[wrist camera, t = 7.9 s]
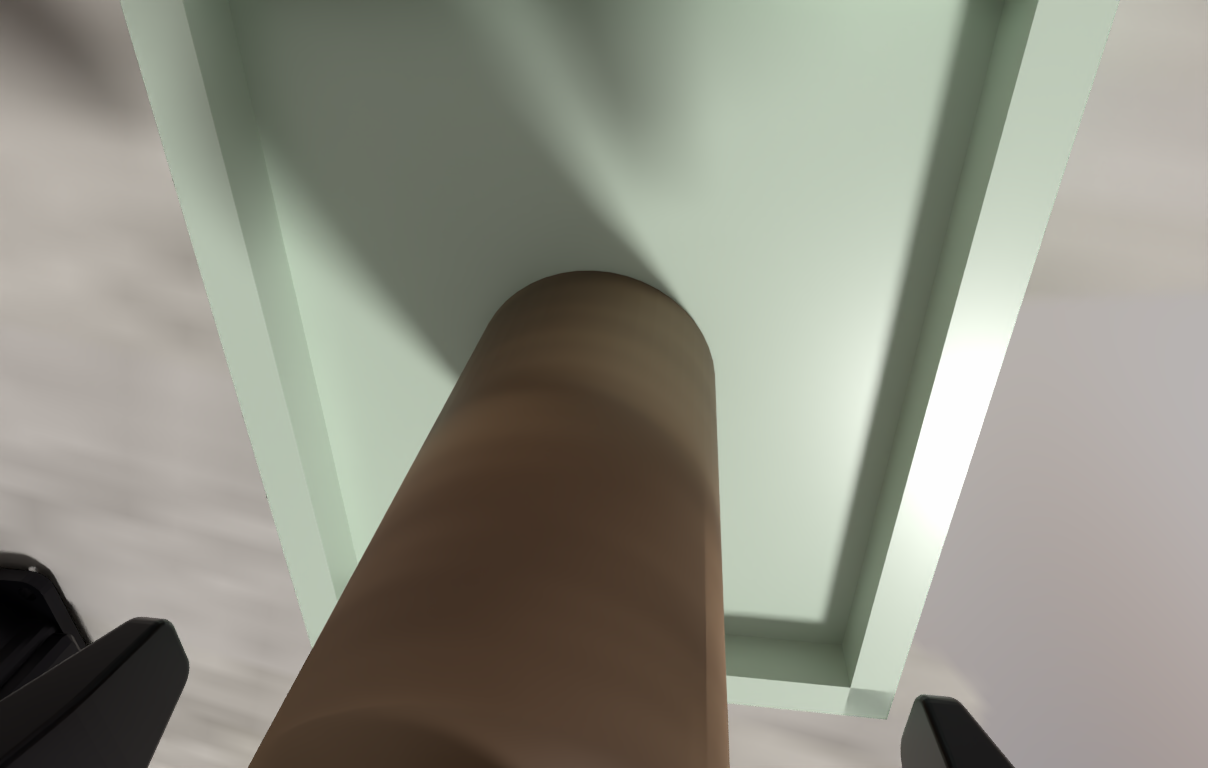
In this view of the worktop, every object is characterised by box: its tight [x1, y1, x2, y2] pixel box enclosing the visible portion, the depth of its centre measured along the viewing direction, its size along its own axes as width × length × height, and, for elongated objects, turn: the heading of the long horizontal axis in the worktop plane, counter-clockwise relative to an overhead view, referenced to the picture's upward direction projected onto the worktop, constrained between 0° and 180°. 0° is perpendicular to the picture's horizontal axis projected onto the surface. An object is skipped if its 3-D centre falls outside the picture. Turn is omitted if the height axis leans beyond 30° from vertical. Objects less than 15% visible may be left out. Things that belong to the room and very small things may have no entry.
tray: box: [120, 0, 1120, 720], centre depth 15 cm, size 14×16×2 cm
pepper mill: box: [248, 271, 730, 768], centre depth 10 cm, size 5×5×10 cm
